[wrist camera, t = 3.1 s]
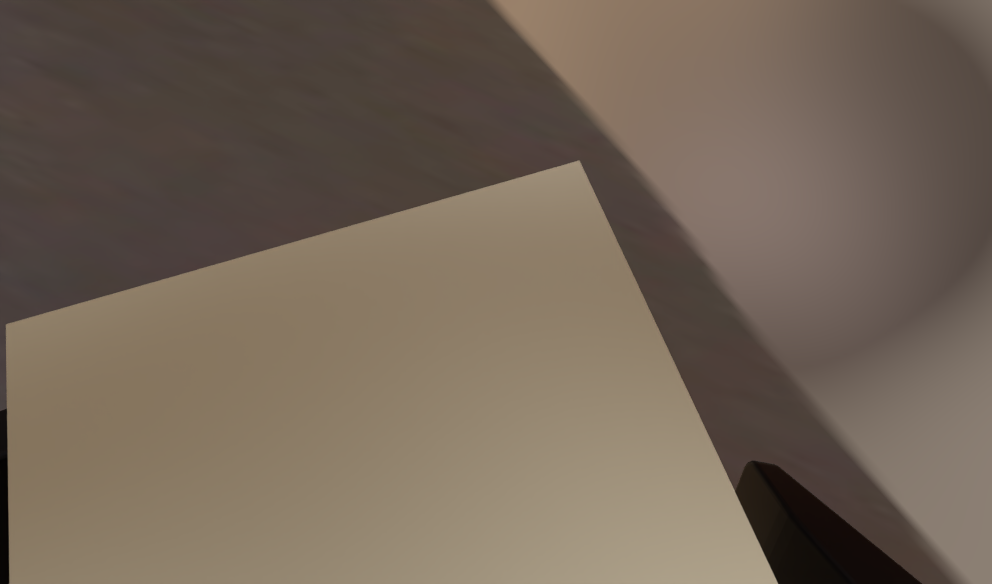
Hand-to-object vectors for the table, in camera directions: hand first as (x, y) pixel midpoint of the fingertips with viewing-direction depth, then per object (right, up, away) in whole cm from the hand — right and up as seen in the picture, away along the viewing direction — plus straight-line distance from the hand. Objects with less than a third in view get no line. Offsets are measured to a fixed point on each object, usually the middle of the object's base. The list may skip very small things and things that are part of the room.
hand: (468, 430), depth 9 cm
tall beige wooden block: (0, -4, +5) cm, 6 cm away
